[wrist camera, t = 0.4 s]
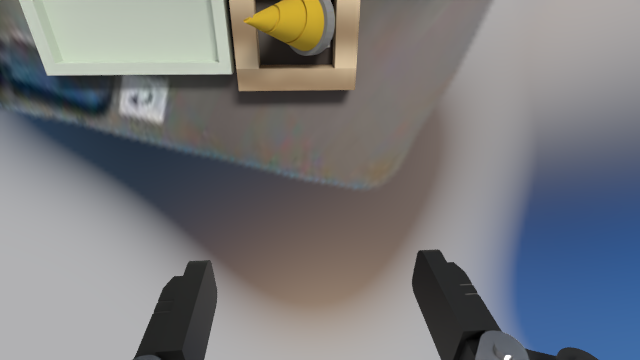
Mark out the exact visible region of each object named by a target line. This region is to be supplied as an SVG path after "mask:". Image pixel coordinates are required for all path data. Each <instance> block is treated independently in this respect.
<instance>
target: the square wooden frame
mask: <svg viewBox="0 0 640 360" xmlns="http://www.w3.org/2000/svg"><path fill="white" fill-rule="evenodd" d="M229 4H230V13H231V22H232V32H233V41H234V50H235V60H236V69H237V78H238V87H239V91H293V90H355V79H356V63H357V46H358V30H359V13H360V0H334V14H335V28H334V33H333V61H332V65H260V53H259V40H258V29H257V28H255V27H253V26H251V25H249V24H247V23H245V22H244V21H243V20H244V19H246V18H248V17H251V18H253V15H254V14H256V13H257V12H256V0H229Z"/></svg>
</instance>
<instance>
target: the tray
mask: <svg viewBox="0 0 640 360" xmlns="http://www.w3.org/2000/svg"><path fill="white" fill-rule="evenodd" d="M19 2H20V4H21V7H22V10H23V12H24V15H25V18H26V20H27V23H28V25H29V28H30V31H31V33H32V36H33V39H34V41H35V44H36V47H37V49H38V52H39V55H40V57H41V60H42V63H43V65H44V68H45V71H46V73H47V75H186V74H232V73H233V72H234V71H235V69H234V60H233V51H232V42H231V33H230V24H229V15H228V6H227V0H19Z"/></svg>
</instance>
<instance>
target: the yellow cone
mask: <svg viewBox="0 0 640 360" xmlns="http://www.w3.org/2000/svg"><path fill="white" fill-rule="evenodd" d="M243 21H244V22H245V23H247V24H249V25H251V26H253V27H255V28H257V29H259V30H261V31H263V32H265V33H267V34H269V35H271V36H273V37H275V38H277V39H279V40H281V41H283V42H285V43H287V44H289V46H290V47H291V48H292V49H293V50H294V51H295V52H296V53H298V54H300V55H305V56H308V55H316V54H319V53H321V52H323V51H324V50H325V49H326V48H328V47H330V41H331V39H332V37H333V33H334V28H335V14H334V9H333V5H332V3H331V1H330V0H282V1H280V2H278V3H276V4H274V5H273V6H270V7H268V8H266V9H264V10H262V11H260V12H258V13H256V14H254V15H253V18H251V17H248V18H246V19H244V20H243Z"/></svg>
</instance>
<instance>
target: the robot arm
mask: <svg viewBox="0 0 640 360" xmlns="http://www.w3.org/2000/svg"><path fill="white" fill-rule="evenodd" d="M412 287H413V291H414V294H415V297H416V299H417V302H418V304H419V307H420V309H421V312H422V314H423V316H424V319H425V321H426V324H427V326H428V329H429V331H430V334H431V336H432V338H433V341H434V343H435V346H436V348H437V351H438V353H439V356H440V358H441V360H598V359H597V358H595V357H594V356H592V355H591V354H589V353H587V352H585V351H583V350H580V349H577V348H569V347H568V348H564V349H561V350H560V351H559V352H558V354H557V356H553V355H548V354H544V353H540V352H536V351H531V350H528V349H525V348H524V347H523V346H522V344H521V343H520V342H518V340H516V339H515V338H514V337H512V336H511V335H509V334H506V333H504V332H502V331H501V329H500V328H499V326H498V325H497V323H496V321H495V320H494V318H493V317H492V315H491V314H490V312H489V310H488V309H487V307H486V305H485V304H484V302H483V300H482V299H481V297H480V296H479V295H478V294H477V291H476V289H475V288H474V286H473V285H472V283H471V281H470V280H469V278H468V276H467V275H466V273H465V272H464V271H463V270H462V269H461V268H460V267H458V266H457V265H456V264H455V263H454V262H449V263H447V261H446V260H445V258H444V257H443V255H442V253H441V252H440V250H420V251H419V252H418V254H417V258H416V263H415V268H414V273H413V278H412ZM216 303H217V287H216V283H215V278H214V273H213V269H212V263H211V261H210V260H208V261H190V262H189V263H188V264H187V267H186V270H185V272H184V275H183V276H174V277H173V278H172V279H171V280H170V281H169V282H168V283H167V285H166V286H165V287H164V288H163V290H162V293H161V295H160V297H159V300H158V303H157V305H156V307H155V310H154V314H152V317H151V319H150V322H149V324H148V327H147V329H146V331H145V334H144V336H143V339H142V341H141V344H140V346H139V348H138V351H137V353H136V355H135V357H134V359H133V360H204V358H205V353H206V349H207V344H208V340H209V335H210V331H211V326H212V322H213V317H214V313H215V309H216Z"/></svg>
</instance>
